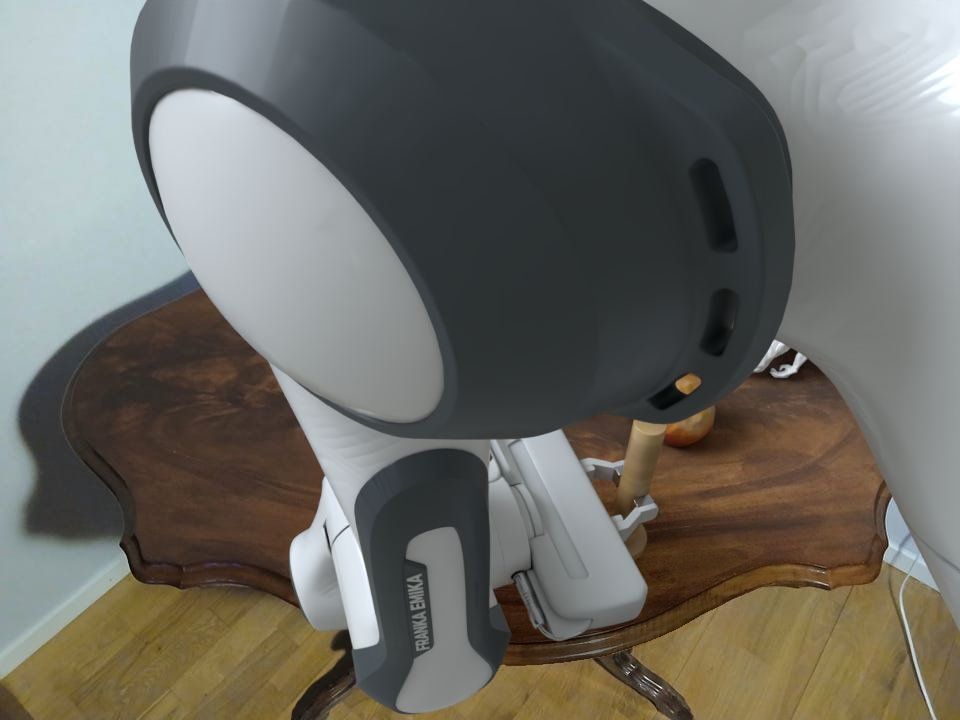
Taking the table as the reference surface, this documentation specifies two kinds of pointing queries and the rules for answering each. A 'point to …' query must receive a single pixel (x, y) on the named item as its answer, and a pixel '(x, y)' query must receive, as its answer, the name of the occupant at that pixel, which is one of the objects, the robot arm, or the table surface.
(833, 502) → the table surface
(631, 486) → the muddler
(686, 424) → the fruit
